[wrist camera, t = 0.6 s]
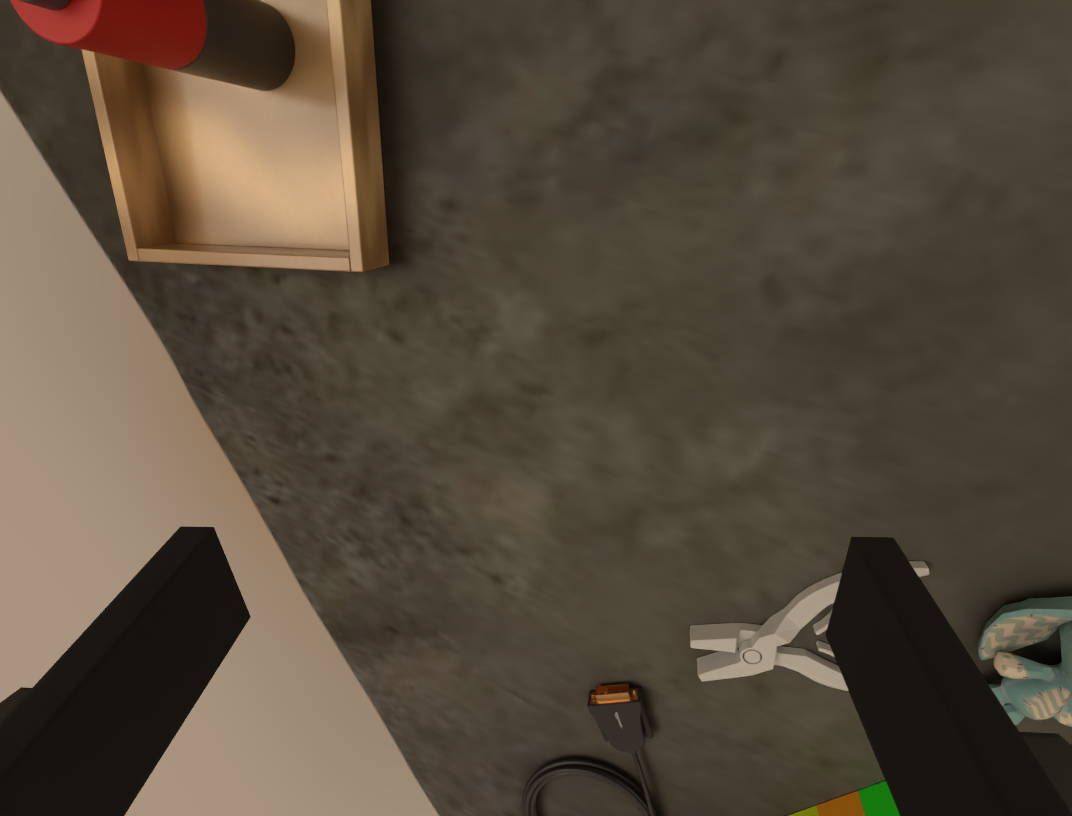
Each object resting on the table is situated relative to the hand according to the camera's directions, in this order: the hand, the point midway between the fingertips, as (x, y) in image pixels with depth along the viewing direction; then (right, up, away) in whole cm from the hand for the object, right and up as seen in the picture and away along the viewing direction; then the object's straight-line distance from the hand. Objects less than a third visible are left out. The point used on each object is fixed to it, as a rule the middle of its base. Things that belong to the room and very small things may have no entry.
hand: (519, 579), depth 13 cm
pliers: (+19, -12, +27) cm, 35 cm away
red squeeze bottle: (-15, +24, +21) cm, 35 cm away
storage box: (-16, +21, +22) cm, 35 cm away
